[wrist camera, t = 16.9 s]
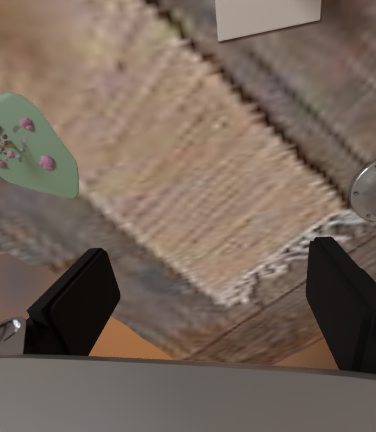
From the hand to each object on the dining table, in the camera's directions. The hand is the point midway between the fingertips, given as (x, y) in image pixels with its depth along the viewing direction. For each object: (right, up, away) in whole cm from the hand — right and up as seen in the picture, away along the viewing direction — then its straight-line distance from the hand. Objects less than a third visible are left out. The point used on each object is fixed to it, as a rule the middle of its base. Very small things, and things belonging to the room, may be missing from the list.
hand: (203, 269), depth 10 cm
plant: (-35, +17, +39) cm, 55 cm away
